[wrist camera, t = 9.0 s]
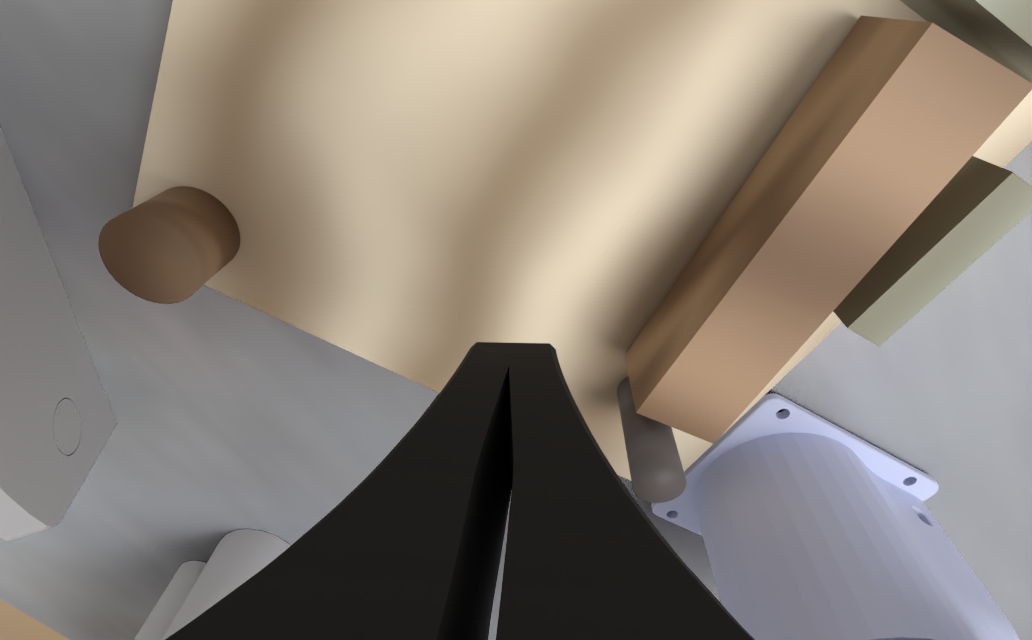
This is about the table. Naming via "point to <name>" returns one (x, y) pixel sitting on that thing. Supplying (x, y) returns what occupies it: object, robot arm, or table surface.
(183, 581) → the vase
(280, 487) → the table surface
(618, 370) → the board
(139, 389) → the table surface
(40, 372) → the grey rounded block
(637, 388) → the folding leg
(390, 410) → the table surface
